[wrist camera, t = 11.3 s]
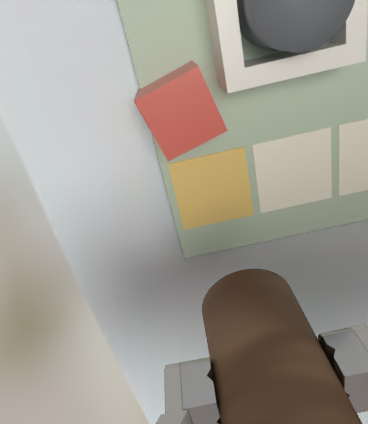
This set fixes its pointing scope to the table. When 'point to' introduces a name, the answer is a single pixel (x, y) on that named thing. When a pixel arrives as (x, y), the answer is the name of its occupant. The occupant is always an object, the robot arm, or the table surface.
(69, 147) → the table surface
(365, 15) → the housing
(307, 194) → the board
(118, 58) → the table surface
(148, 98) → the red cube
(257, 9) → the dome
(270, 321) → the pawn
